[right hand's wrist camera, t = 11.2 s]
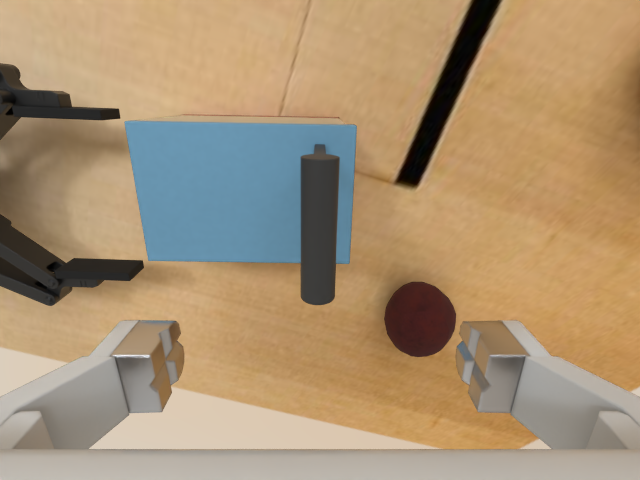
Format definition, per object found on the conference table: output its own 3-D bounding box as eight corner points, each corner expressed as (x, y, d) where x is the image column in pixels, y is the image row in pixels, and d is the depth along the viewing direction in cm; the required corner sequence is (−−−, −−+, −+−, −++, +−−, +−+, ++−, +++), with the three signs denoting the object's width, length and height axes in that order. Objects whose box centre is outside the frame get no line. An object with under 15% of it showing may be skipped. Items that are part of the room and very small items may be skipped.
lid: (355, 124, 25) (373, 136, 16) (348, 257, 28) (360, 322, 20) (132, 120, 24) (38, 130, 16) (154, 254, 28) (86, 318, 20)
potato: (384, 333, 43) (395, 376, 36) (375, 276, 40) (386, 311, 33) (445, 323, 42) (469, 365, 36) (441, 265, 39) (465, 298, 33)
